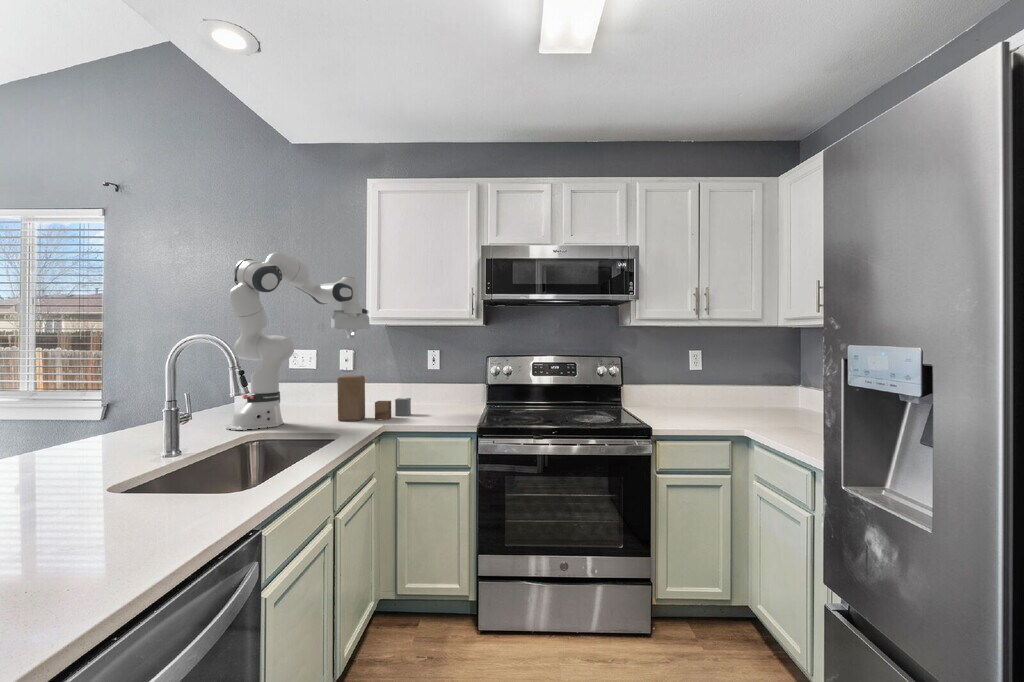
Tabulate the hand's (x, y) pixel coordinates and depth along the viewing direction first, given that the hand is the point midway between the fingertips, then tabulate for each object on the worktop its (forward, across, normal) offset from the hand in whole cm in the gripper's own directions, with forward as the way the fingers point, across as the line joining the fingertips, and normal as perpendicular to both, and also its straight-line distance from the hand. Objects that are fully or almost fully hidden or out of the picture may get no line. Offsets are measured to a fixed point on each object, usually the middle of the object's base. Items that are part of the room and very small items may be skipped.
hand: (350, 338), depth 254 cm
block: (+37, -10, -14) cm, 41 cm away
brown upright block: (+37, 0, -24) cm, 44 cm away
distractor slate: (+37, +12, -24) cm, 46 cm away
